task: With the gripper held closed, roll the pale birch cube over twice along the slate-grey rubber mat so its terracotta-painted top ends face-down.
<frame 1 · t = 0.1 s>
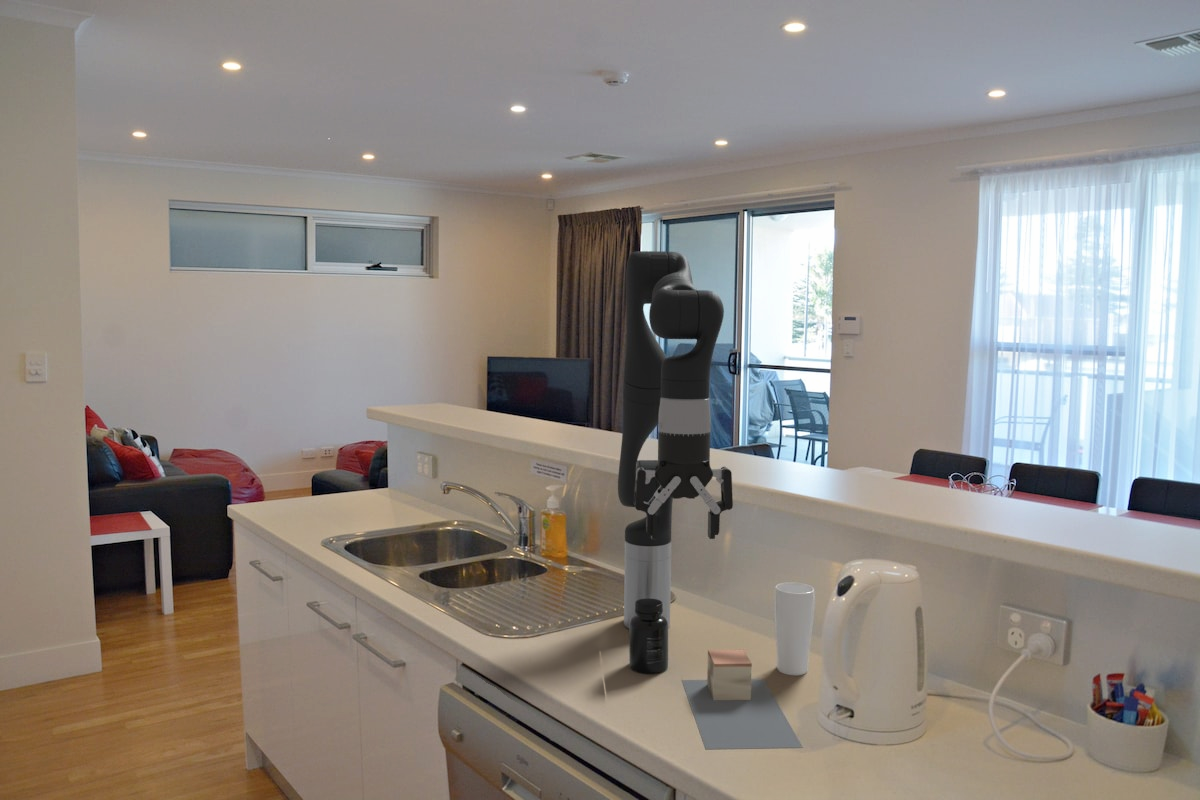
hand: (682, 538, 130), 29 cm above the worktop, fingers open, 8 cm apart
slate mat: (737, 713, 139), on the worktop
birch cube: (728, 692, 145), resting on slate mat
drinking glass: (792, 672, 155), on the worktop
supplement bottle: (648, 669, 156), on the worktop
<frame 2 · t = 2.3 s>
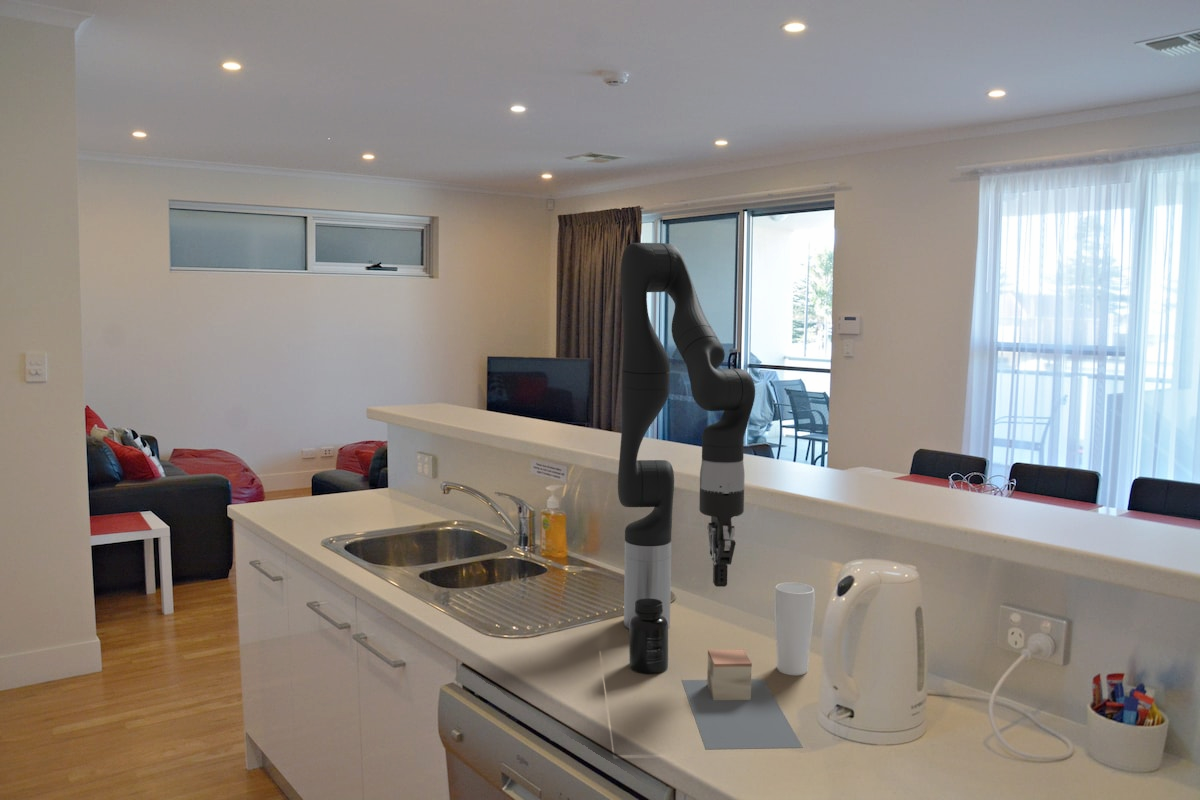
hand: (720, 585, 153), 16 cm above the worktop, fingers closed
nothing on the worktop moved.
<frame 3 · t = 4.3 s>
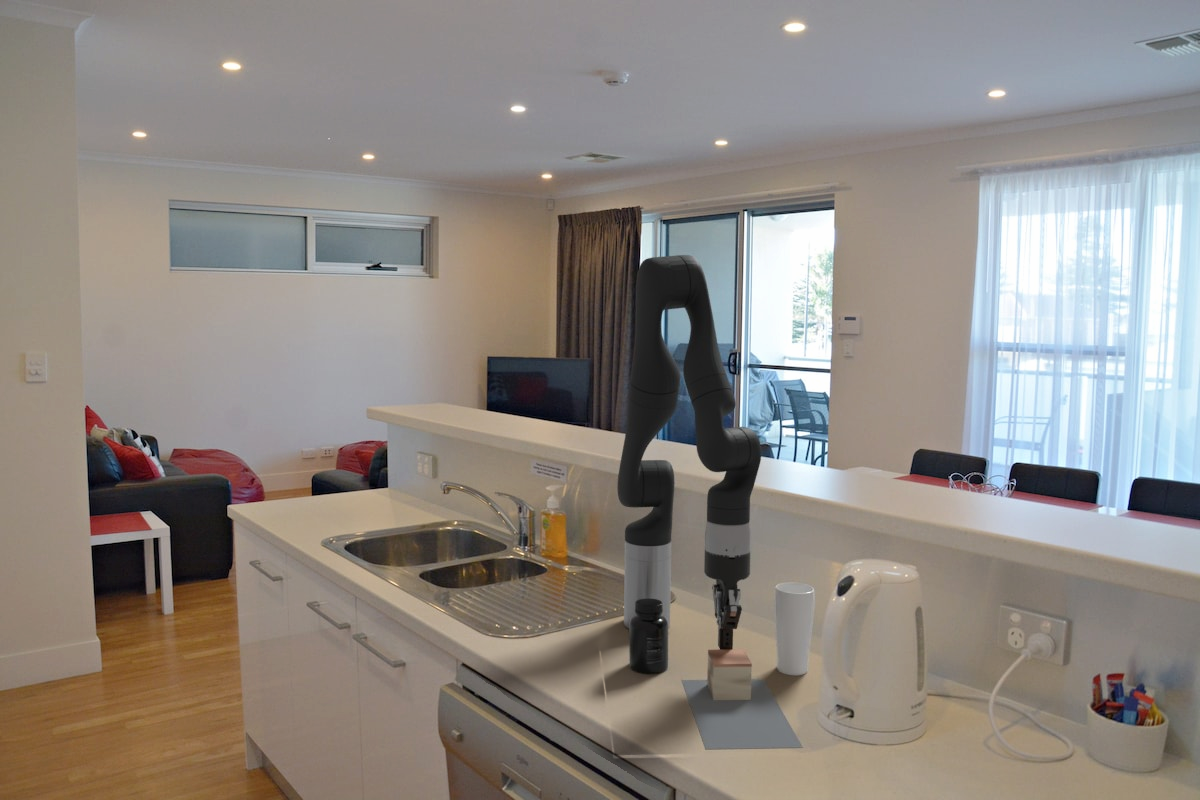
hand: (725, 648, 149), 6 cm above the worktop, fingers closed
birch cube: (728, 691, 145), resting on slate mat, touching gripper
everything else where it was.
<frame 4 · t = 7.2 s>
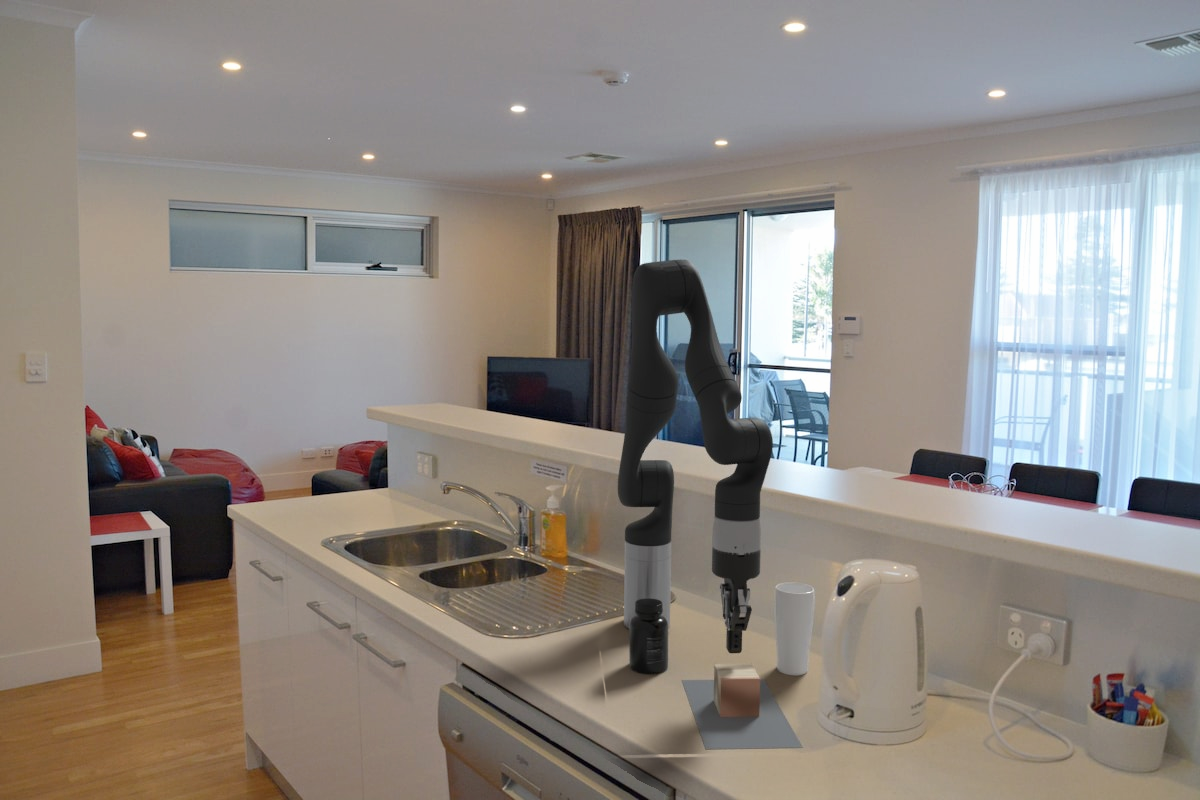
hand: (733, 651, 141), 9 cm above the worktop, fingers closed
birch cube: (732, 681, 142), point 3 cm above the worktop, tilted 90°, touching slate mat
everything else where it was.
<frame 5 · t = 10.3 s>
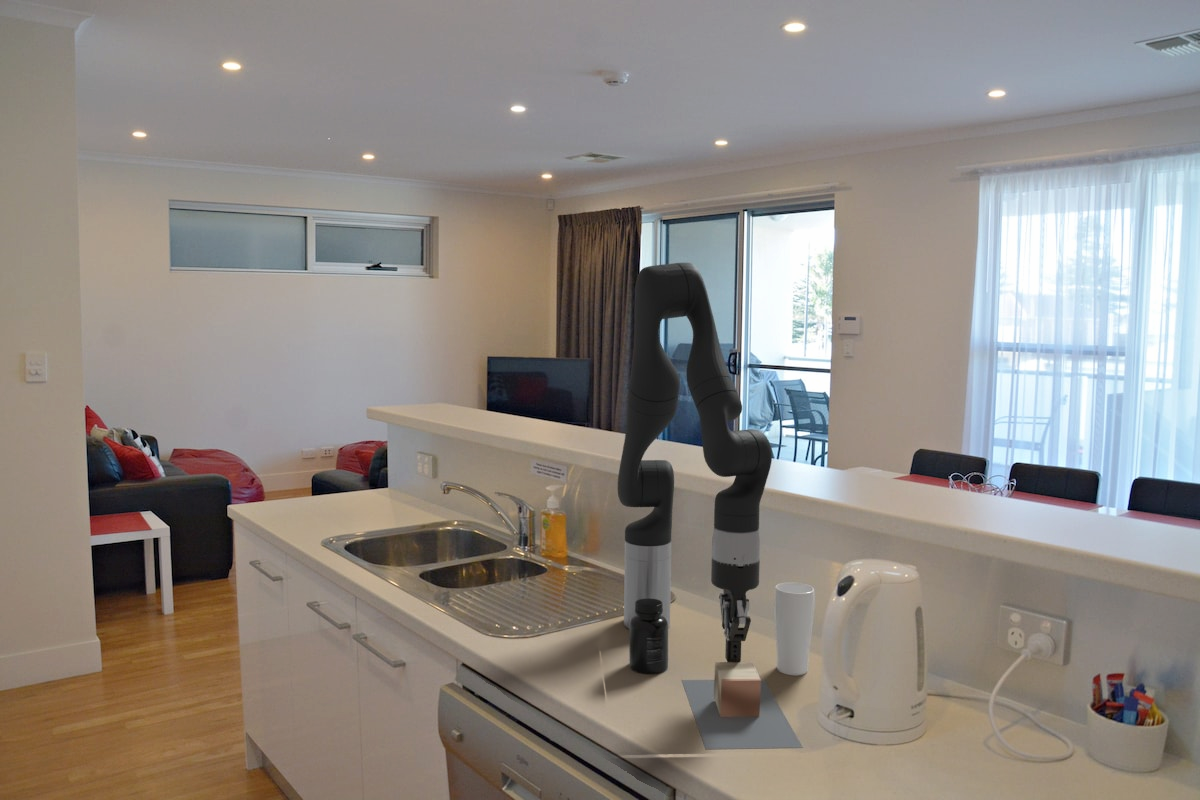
hand: (733, 661, 142), 7 cm above the worktop, fingers closed
birch cube: (733, 679, 142), point 4 cm above the worktop, tilted 95°, touching gripper, slate mat
everything else where it was.
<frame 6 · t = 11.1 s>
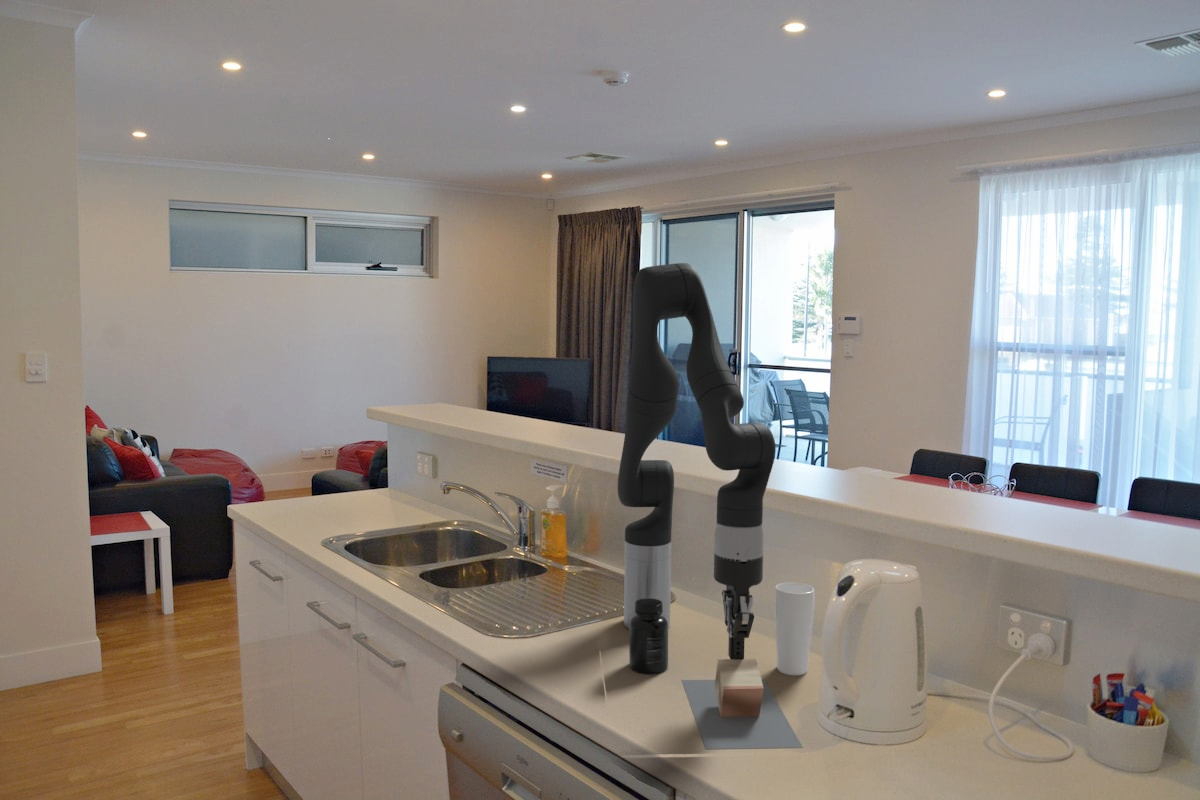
hand: (736, 658, 140), 8 cm above the worktop, fingers closed
birch cube: (735, 673, 140), point 6 cm above the worktop, tilted 113°, touching gripper, slate mat
everything else where it was.
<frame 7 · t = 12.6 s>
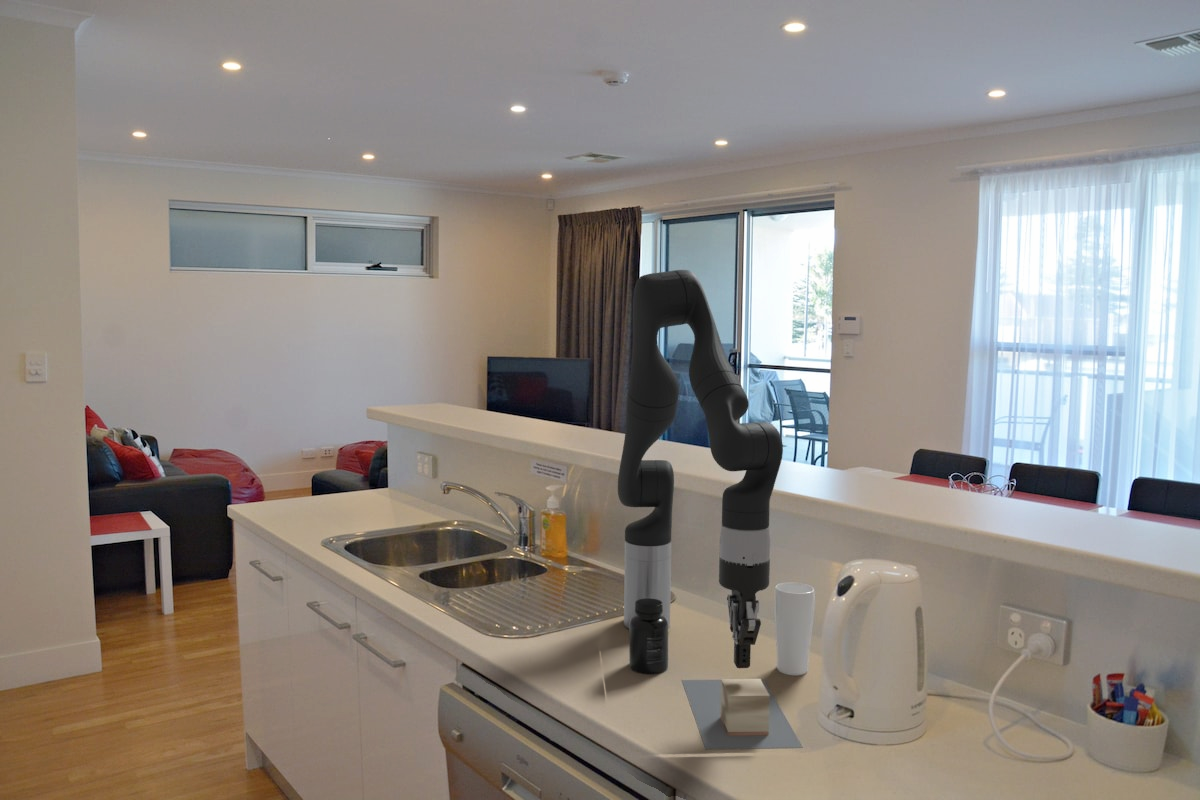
hand: (741, 666, 135), 9 cm above the worktop, fingers closed
birch cube: (745, 687, 133), point 6 cm above the worktop, tilted 180°, touching slate mat
everything else where it was.
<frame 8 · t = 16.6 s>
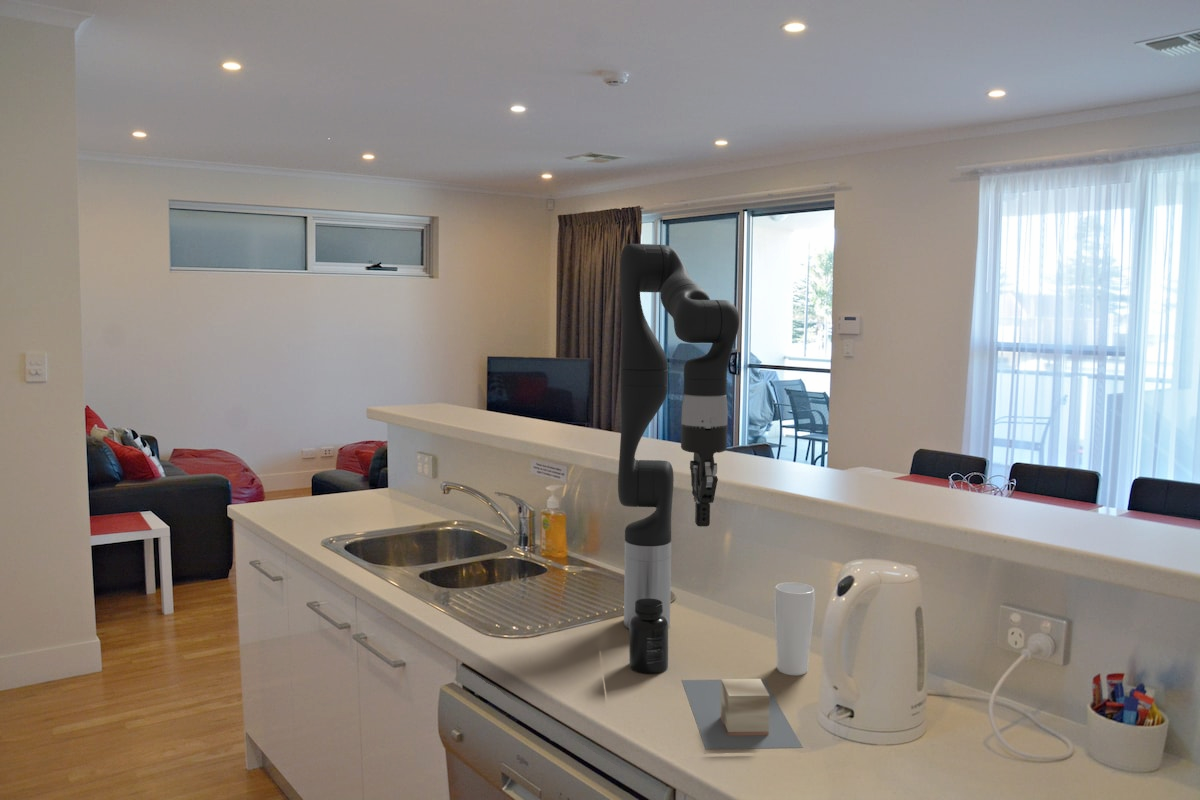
hand: (702, 525, 148), 27 cm above the worktop, fingers closed
nothing on the worktop moved.
at the end: birch cube tilted 180°; birch cube inside the target area (1.5 cm from its centre), point 6.4 cm above the worktop; birch cube touching slate mat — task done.
